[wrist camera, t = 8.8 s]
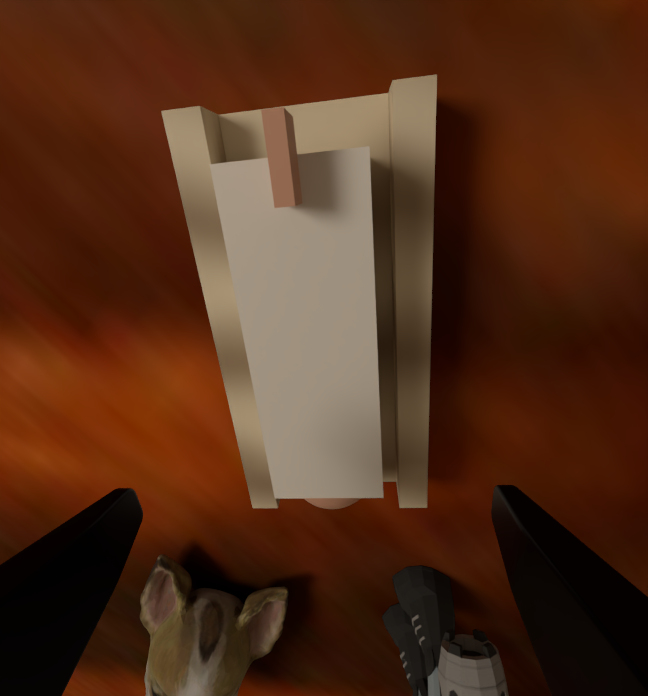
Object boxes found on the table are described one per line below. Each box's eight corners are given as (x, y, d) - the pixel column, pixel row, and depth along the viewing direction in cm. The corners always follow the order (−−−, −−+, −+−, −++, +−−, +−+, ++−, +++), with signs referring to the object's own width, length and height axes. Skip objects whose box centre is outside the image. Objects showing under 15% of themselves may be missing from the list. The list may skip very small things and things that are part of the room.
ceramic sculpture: (81, 776, 26) (98, 645, 20) (144, 639, 34) (168, 520, 28) (230, 810, 26) (284, 692, 21) (257, 668, 34) (301, 556, 29)
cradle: (193, 123, 17) (161, 111, 14) (422, 93, 15) (436, 74, 13) (264, 471, 25) (252, 508, 22) (418, 469, 23) (426, 507, 21)
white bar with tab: (247, 143, 16) (180, 120, 10) (364, 129, 15) (369, 95, 9) (296, 463, 23) (275, 562, 17) (379, 461, 22) (387, 564, 16)
